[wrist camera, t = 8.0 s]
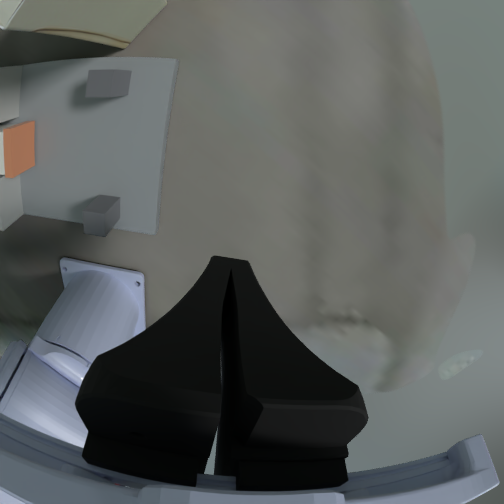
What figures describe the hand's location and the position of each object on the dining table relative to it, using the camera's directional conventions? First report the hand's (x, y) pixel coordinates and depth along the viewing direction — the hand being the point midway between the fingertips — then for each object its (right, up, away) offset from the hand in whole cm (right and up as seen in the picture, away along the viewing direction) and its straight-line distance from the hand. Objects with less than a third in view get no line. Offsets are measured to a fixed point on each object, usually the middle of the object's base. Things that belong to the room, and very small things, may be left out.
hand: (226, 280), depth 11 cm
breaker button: (-18, +9, +5) cm, 21 cm away
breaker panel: (-14, +9, +6) cm, 18 cm away
